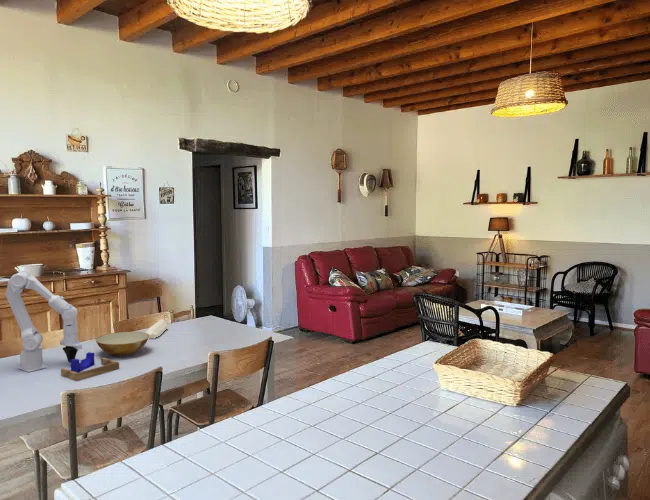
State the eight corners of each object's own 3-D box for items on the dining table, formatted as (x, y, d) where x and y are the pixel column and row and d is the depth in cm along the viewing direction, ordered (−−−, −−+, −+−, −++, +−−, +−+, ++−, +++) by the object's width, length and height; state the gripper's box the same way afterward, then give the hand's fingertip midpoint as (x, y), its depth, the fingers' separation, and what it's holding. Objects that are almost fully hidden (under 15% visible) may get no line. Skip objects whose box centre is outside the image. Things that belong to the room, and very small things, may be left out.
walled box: (61, 375, 211) (60, 368, 211) (103, 363, 228) (103, 357, 227) (76, 381, 204) (76, 374, 204) (119, 368, 221) (119, 362, 221)
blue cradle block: (85, 364, 227) (85, 352, 226) (94, 365, 226) (94, 352, 226) (67, 372, 215) (67, 359, 215) (76, 373, 214) (76, 360, 214)
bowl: (160, 350, 252) (160, 335, 251) (121, 363, 229) (121, 347, 228) (124, 343, 262) (124, 329, 261) (84, 356, 239) (83, 340, 239)
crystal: (160, 333, 271) (171, 323, 295) (148, 326, 271) (161, 317, 295) (153, 344, 272) (165, 333, 295) (142, 338, 271) (155, 327, 295)
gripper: (87, 333, 223) (88, 362, 224) (70, 329, 230) (71, 357, 232) (72, 336, 217) (73, 366, 218) (55, 332, 225) (56, 360, 226)
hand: (71, 362), depth 224 cm, fingers closed
